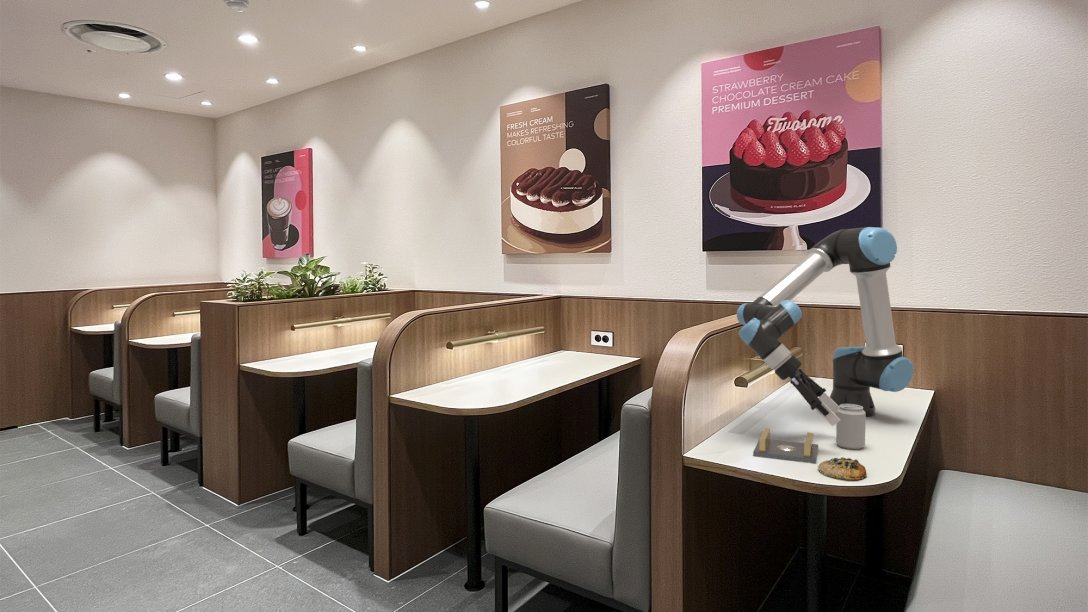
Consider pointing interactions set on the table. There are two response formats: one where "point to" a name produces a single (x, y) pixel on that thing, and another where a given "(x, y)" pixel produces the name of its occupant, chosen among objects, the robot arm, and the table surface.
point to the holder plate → (786, 448)
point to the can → (850, 426)
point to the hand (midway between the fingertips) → (837, 417)
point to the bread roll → (843, 469)
